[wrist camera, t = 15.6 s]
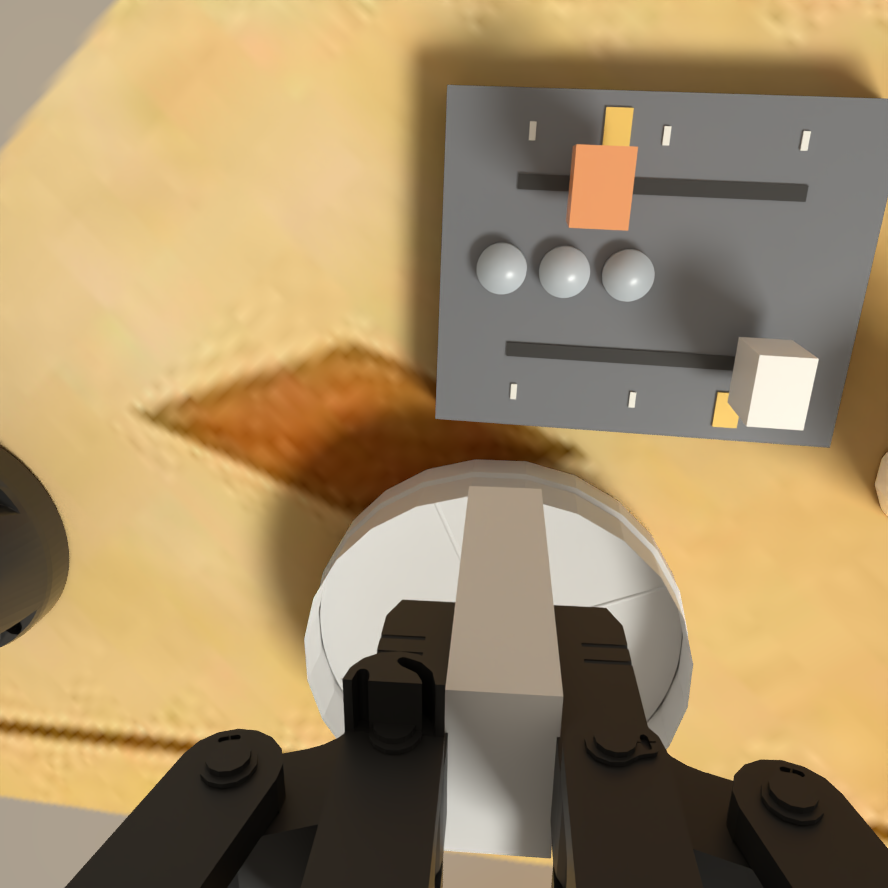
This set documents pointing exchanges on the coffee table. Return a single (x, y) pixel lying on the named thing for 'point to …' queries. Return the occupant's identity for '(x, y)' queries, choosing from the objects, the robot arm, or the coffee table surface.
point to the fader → (601, 186)
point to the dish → (437, 570)
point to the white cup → (883, 484)
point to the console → (652, 255)
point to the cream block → (772, 383)
